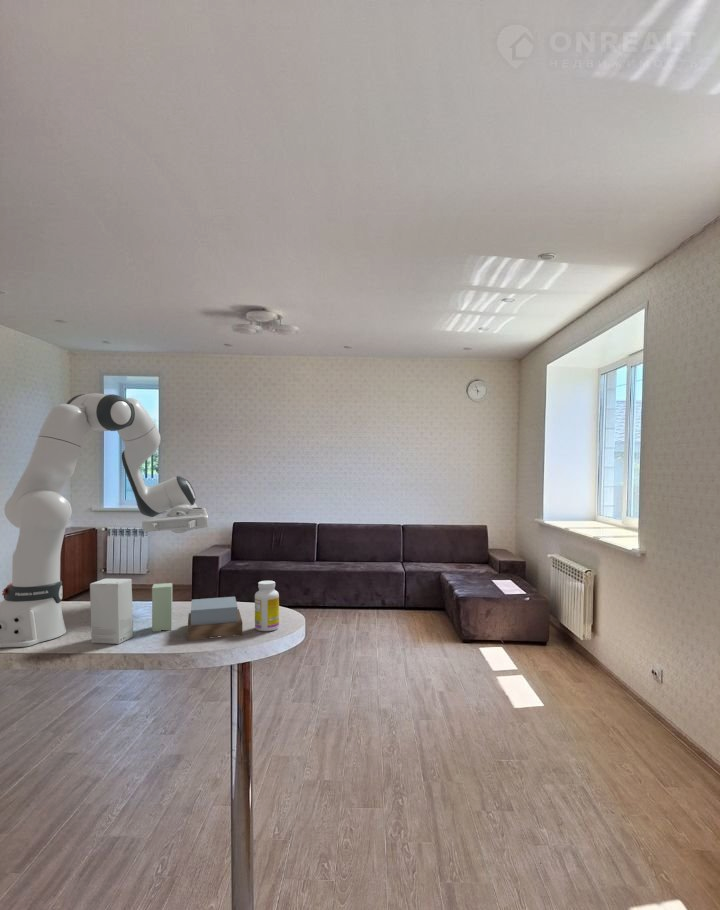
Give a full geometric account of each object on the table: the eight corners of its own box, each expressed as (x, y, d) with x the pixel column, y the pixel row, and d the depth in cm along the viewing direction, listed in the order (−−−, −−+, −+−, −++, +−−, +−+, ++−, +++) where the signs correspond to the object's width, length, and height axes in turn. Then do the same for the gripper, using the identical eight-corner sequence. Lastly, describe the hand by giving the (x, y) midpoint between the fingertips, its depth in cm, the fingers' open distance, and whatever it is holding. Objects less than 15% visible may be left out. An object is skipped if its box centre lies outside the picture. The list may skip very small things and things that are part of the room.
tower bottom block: (187, 642, 139) (187, 627, 139) (188, 627, 153) (188, 613, 153) (242, 637, 143) (242, 622, 143) (238, 622, 157) (238, 609, 157)
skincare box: (133, 637, 142) (134, 578, 142) (117, 645, 135) (118, 583, 136) (106, 635, 144) (106, 577, 144) (88, 643, 137) (89, 582, 138)
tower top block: (190, 625, 141) (190, 610, 141) (191, 613, 152) (191, 599, 152) (237, 621, 144) (237, 606, 144) (235, 610, 155) (235, 596, 156)
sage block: (152, 631, 147) (152, 587, 147) (153, 626, 151) (153, 584, 152) (171, 630, 148) (171, 586, 148) (172, 625, 153) (172, 582, 153)
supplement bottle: (281, 625, 152) (281, 579, 152) (275, 632, 145) (275, 585, 146) (258, 624, 153) (258, 579, 153) (251, 631, 146) (251, 584, 146)
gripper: (146, 512, 177) (135, 519, 163) (210, 507, 180) (204, 514, 166) (148, 531, 177) (137, 540, 164) (211, 526, 180) (206, 534, 166)
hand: (171, 527), depth 165 cm, fingers open, 8 cm apart
